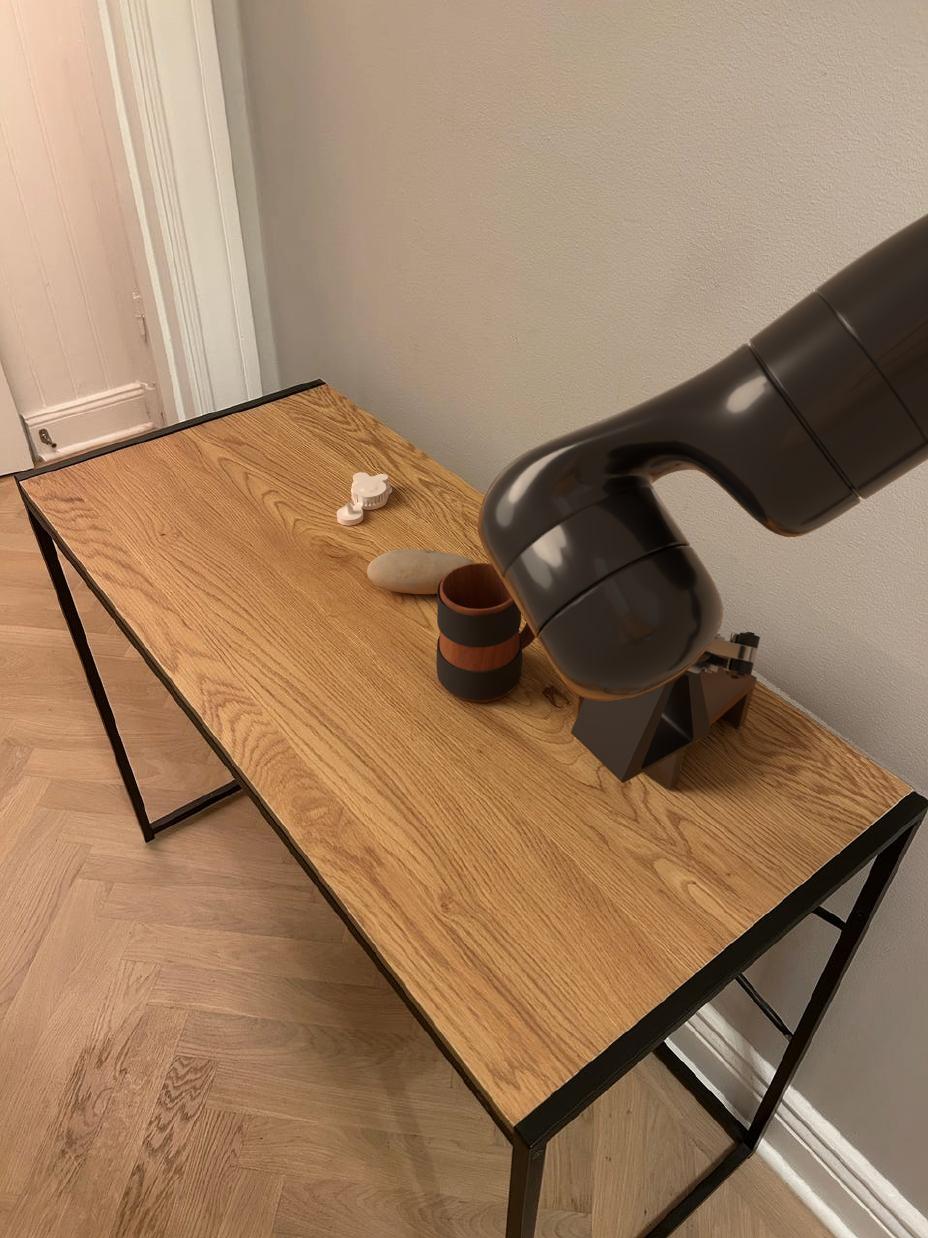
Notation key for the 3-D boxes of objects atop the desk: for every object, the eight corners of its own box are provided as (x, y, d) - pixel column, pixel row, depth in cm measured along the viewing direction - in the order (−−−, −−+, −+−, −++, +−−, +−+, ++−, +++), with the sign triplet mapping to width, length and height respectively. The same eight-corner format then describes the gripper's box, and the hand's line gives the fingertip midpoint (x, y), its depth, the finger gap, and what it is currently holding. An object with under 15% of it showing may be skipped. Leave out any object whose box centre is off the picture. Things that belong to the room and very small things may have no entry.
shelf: (745, 722, 90) (765, 645, 84) (669, 791, 84) (685, 713, 77) (652, 667, 96) (665, 590, 90) (575, 727, 90) (583, 649, 83)
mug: (566, 677, 95) (574, 587, 87) (461, 718, 91) (459, 626, 83) (523, 628, 101) (527, 539, 93) (422, 664, 97) (418, 574, 89)
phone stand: (658, 689, 76) (677, 571, 69) (710, 735, 72) (737, 615, 65) (570, 734, 73) (580, 615, 65) (620, 784, 69) (637, 663, 61)
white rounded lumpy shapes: (327, 488, 123) (326, 474, 121) (392, 478, 124) (391, 464, 123) (339, 527, 116) (337, 513, 114) (407, 516, 117) (406, 502, 116)
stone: (365, 553, 107) (465, 521, 106) (383, 603, 109) (482, 572, 108) (359, 569, 102) (465, 536, 100) (379, 621, 104) (483, 589, 102)
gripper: (782, 580, 51) (768, 617, 67) (530, 528, 55) (574, 575, 71) (749, 714, 51) (744, 720, 66) (498, 652, 55) (550, 671, 71)
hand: (656, 645), depth 69 cm, fingers closed on phone stand, 6 cm apart
